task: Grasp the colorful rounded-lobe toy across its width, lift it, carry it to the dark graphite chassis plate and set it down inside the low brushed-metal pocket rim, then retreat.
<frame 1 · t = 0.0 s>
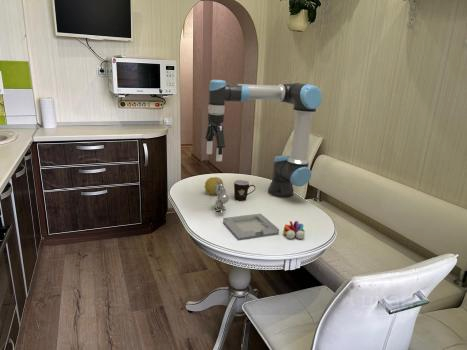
hand: (214, 157, 172), 28 cm above the table, fingers open, 13 cm apart
robot toy: (220, 211, 180), on the table
chassis plate: (250, 228, 163), on the table
colorful rounded-lobe toy: (293, 236, 159), on the table
coffee mug: (242, 200, 197), on the table
fruit: (213, 193, 204), on the table
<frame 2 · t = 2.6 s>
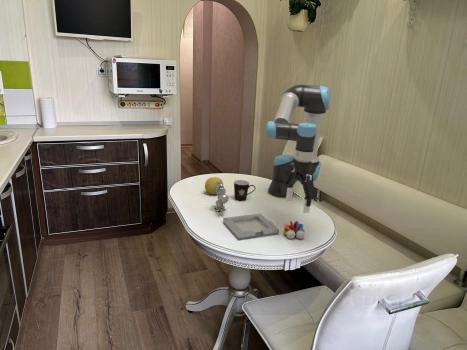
hand: (297, 206, 154), 14 cm above the table, fingers open, 13 cm apart
nothing on the table moved.
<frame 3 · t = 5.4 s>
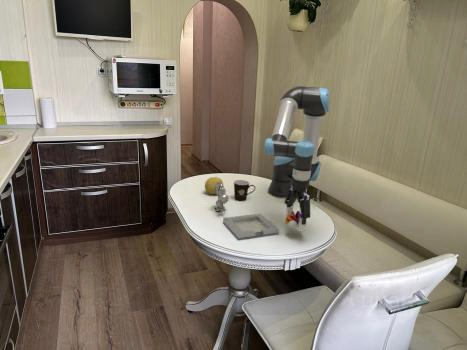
hand: (294, 225, 158), 5 cm above the table, fingers closed on colorful rounded-lobe toy, 10 cm apart
colorful rounded-lobe toy: (295, 226, 158), point 4 cm above the table, touching gripper
everything else where it was.
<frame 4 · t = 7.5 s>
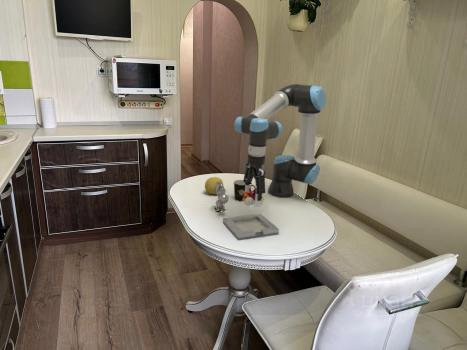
hand: (252, 202, 159), 13 cm above the table, fingers closed on colorful rounded-lobe toy, 10 cm apart
colorful rounded-lobe toy: (252, 203, 159), point 12 cm above the table, touching gripper
everything else where it was.
when the fingers open (3 cm above the table, at t = 9.8 s): colorful rounded-lobe toy drops 1 cm, resting on chassis plate.
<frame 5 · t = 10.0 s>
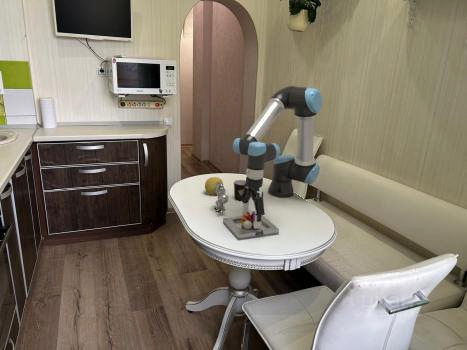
hand: (250, 221, 162), 3 cm above the table, fingers open, 12 cm apart
colorful rounded-lobe toy: (250, 226, 163), point 1 cm above the table, touching chassis plate
everything else where it was.
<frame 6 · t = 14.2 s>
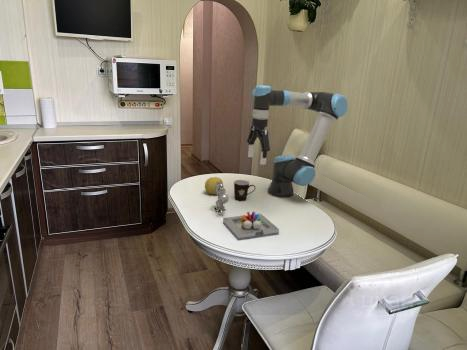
hand: (256, 160, 177), 27 cm above the table, fingers open, 13 cm apart
nothing on the table moved.
at the end: colorful rounded-lobe toy 0.4 cm from the chassis plate (horizontally); colorful rounded-lobe toy point 0.9 cm above the table; colorful rounded-lobe toy tilted 0° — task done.
